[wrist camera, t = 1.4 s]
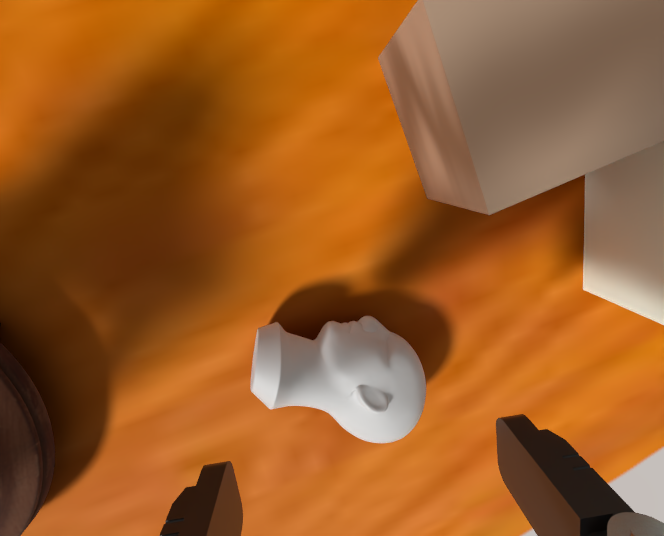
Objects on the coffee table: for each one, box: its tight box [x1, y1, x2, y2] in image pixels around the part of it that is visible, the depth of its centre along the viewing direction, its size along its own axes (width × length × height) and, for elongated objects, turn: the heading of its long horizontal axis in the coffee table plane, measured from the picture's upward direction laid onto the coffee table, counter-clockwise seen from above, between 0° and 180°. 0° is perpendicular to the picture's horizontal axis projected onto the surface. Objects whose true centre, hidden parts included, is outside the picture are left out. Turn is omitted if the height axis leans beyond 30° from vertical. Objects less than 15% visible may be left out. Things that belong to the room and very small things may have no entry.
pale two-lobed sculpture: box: [251, 316, 426, 443], centre depth 17 cm, size 4×8×5 cm
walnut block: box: [378, 0, 664, 215], centre depth 13 cm, size 6×6×6 cm
